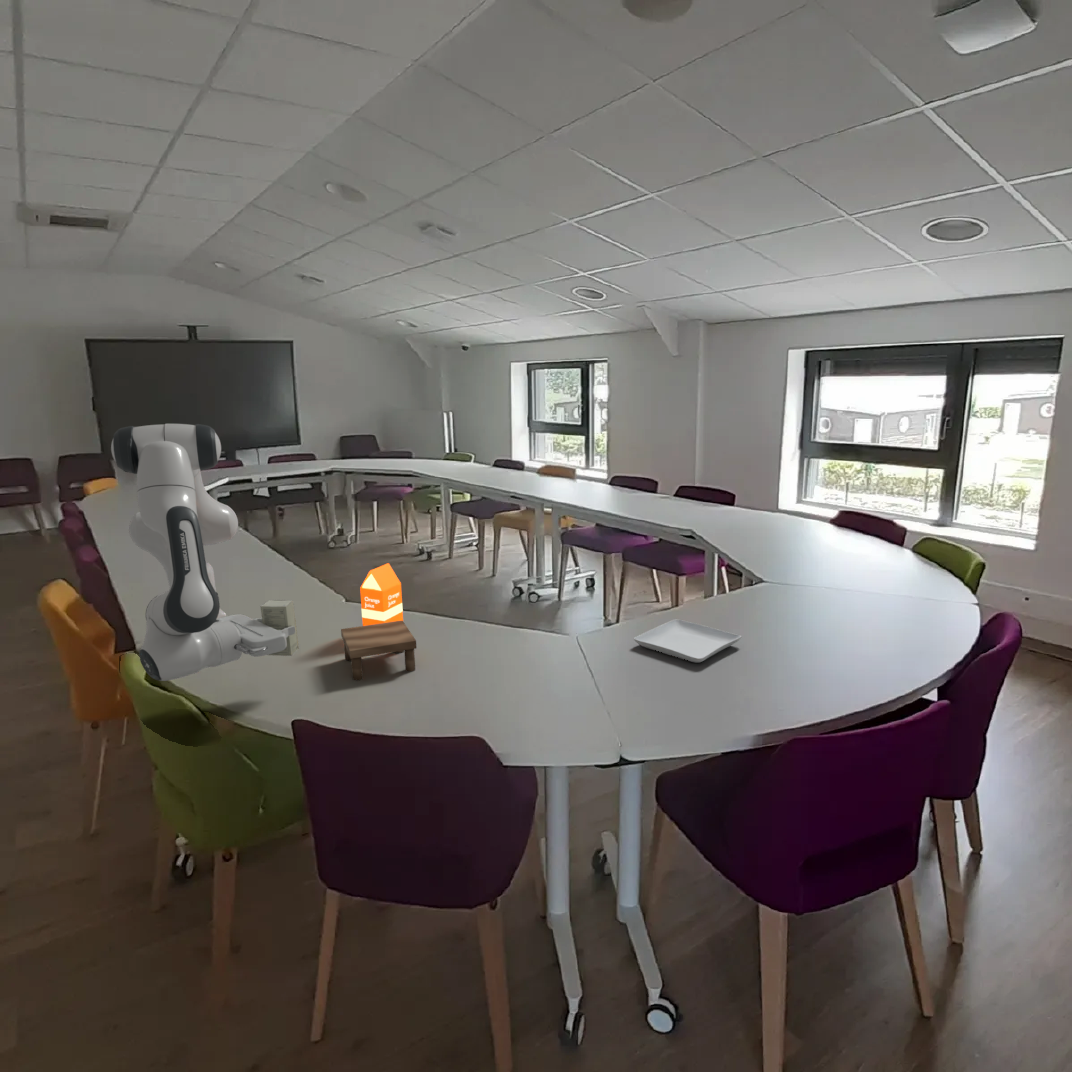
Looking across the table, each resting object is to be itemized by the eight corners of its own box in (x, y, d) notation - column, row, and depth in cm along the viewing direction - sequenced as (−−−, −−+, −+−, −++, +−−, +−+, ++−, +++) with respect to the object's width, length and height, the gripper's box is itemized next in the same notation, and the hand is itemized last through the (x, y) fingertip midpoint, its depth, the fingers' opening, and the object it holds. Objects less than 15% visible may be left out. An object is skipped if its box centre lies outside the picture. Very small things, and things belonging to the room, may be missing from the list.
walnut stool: (343, 657, 184) (340, 629, 183) (403, 648, 190) (402, 620, 188) (352, 682, 170) (349, 650, 168) (417, 670, 176) (416, 640, 174)
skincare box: (299, 649, 165) (295, 599, 162) (291, 656, 161) (286, 606, 158) (273, 648, 166) (268, 599, 163) (264, 655, 162) (259, 605, 159)
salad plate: (631, 648, 189) (631, 636, 188) (675, 628, 204) (676, 617, 203) (699, 671, 175) (700, 658, 174) (742, 647, 189) (743, 635, 189)
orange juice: (404, 631, 203) (400, 564, 199) (385, 641, 195) (381, 572, 191) (382, 627, 206) (377, 561, 202) (362, 637, 199) (358, 569, 194)
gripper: (247, 640, 145) (307, 622, 155) (201, 617, 158) (259, 602, 168) (250, 669, 147) (309, 649, 157) (204, 644, 159) (261, 627, 170)
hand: (283, 624), depth 163 cm, fingers closed on skincare box, 7 cm apart
